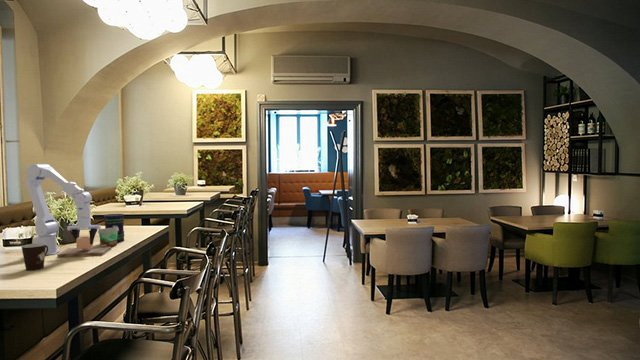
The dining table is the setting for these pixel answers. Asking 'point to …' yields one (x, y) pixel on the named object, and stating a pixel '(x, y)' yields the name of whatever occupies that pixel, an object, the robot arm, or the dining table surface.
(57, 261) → the dining table surface
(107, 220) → the storage jar
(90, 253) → the board
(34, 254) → the coffee mug
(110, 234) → the food container
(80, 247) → the collar
